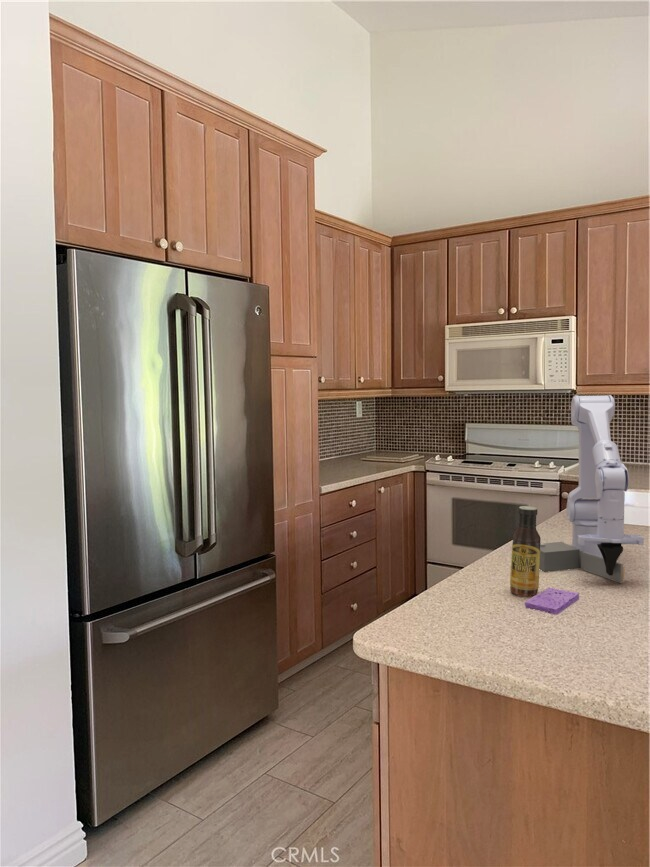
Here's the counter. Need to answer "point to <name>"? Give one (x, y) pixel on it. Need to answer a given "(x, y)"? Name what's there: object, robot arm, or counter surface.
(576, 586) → the counter surface
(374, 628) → the counter surface
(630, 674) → the counter surface
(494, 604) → the counter surface
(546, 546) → the camera body
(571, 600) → the sponges
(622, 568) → the side door
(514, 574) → the sauce bottle
